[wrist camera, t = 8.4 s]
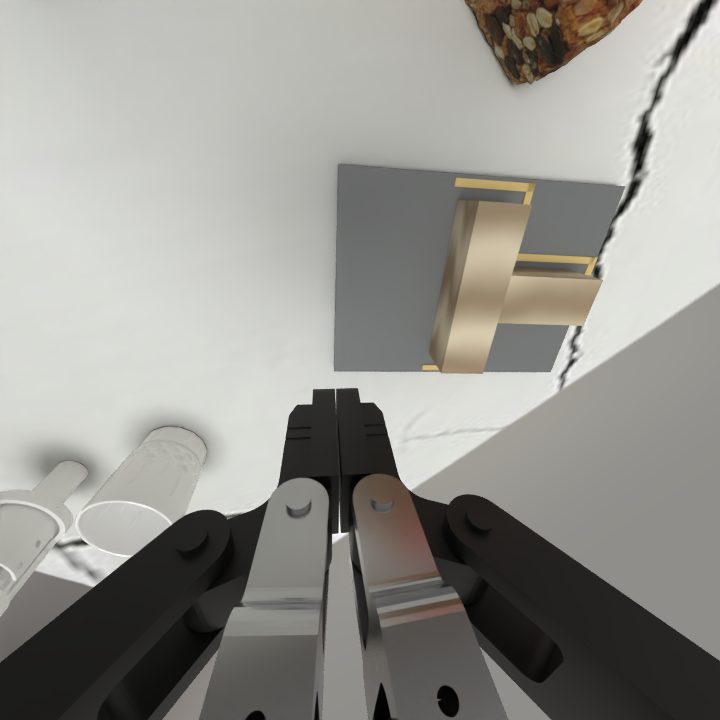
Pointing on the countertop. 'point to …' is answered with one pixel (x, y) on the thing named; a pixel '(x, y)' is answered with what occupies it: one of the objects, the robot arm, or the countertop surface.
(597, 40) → the bread
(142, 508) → the white cup
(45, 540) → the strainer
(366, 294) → the board
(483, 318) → the t block
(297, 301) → the countertop surface
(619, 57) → the countertop surface
